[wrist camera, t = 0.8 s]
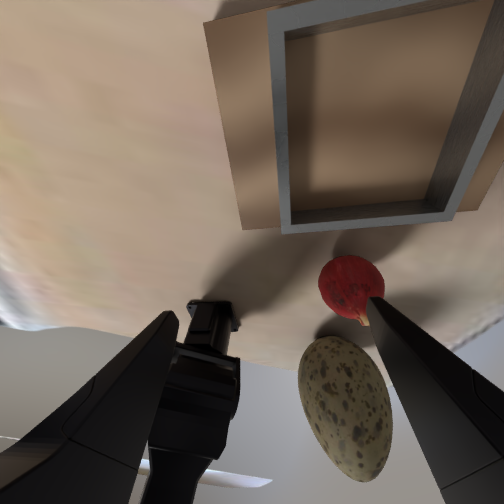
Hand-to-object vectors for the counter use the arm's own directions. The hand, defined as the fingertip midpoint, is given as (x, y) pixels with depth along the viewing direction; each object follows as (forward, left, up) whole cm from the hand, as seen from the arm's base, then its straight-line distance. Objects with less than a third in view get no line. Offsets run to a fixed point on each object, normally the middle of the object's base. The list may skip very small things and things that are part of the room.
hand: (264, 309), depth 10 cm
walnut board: (+5, -7, -13) cm, 16 cm away
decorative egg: (-24, -7, -13) cm, 28 cm away
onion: (-8, -7, -13) cm, 17 cm away
